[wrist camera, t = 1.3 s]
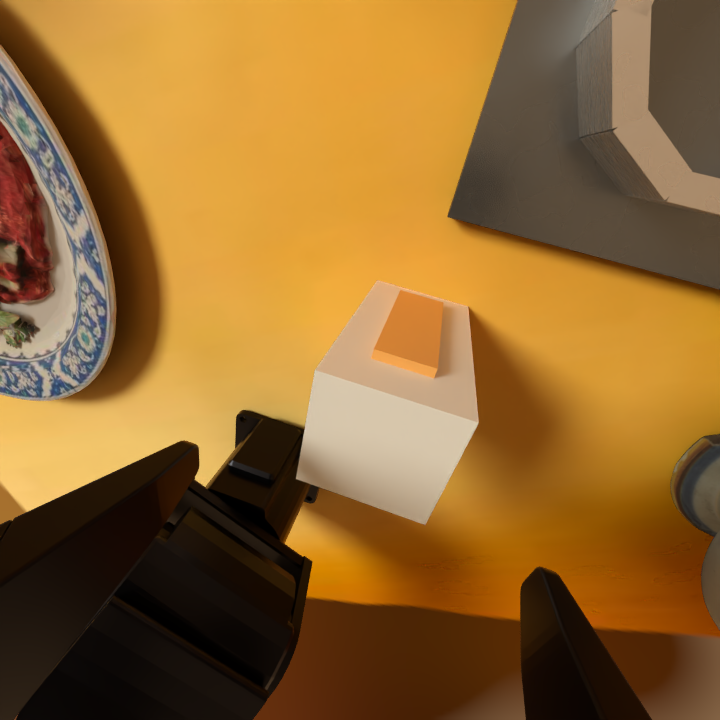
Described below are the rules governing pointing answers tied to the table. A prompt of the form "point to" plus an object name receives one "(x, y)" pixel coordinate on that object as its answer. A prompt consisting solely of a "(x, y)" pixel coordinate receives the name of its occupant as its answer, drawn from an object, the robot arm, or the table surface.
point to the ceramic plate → (47, 256)
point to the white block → (392, 403)
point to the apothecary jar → (702, 508)
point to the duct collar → (604, 134)
